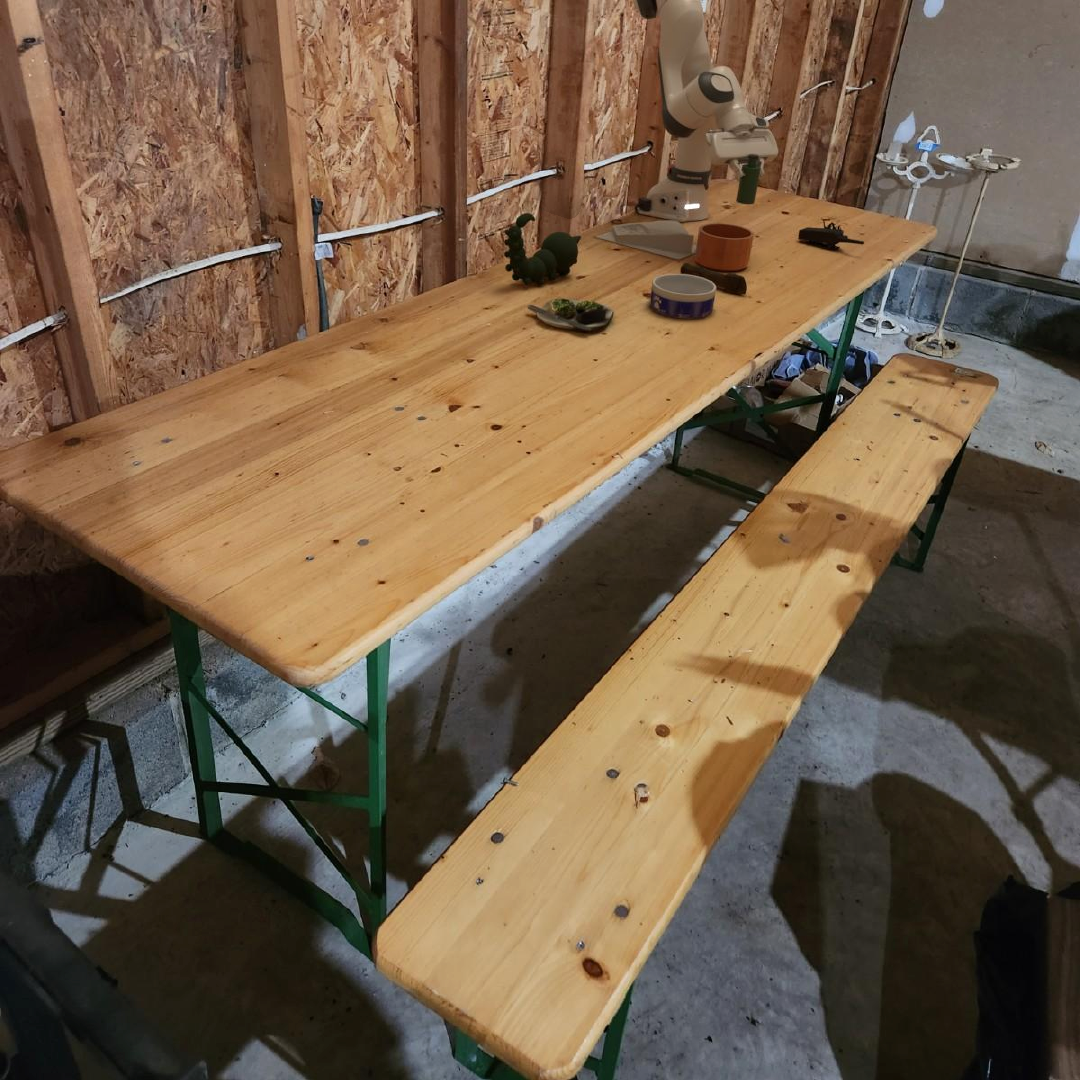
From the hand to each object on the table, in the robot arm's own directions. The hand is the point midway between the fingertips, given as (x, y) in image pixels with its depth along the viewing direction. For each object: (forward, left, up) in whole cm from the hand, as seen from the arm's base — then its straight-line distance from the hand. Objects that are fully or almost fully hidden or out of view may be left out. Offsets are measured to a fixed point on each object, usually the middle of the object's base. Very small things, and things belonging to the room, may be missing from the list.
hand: (751, 176), depth 241 cm
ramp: (-26, +9, -23) cm, 36 cm away
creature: (+24, +44, -24) cm, 56 cm away
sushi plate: (-29, -59, -23) cm, 70 cm away
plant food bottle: (0, 0, -7) cm, 7 cm away
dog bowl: (-8, -40, -23) cm, 47 cm away
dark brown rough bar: (-3, -20, -23) cm, 31 cm away
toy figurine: (-44, -36, -23) cm, 62 cm away
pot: (-4, -1, -23) cm, 24 cm away
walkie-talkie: (+24, +30, -24) cm, 45 cm away
